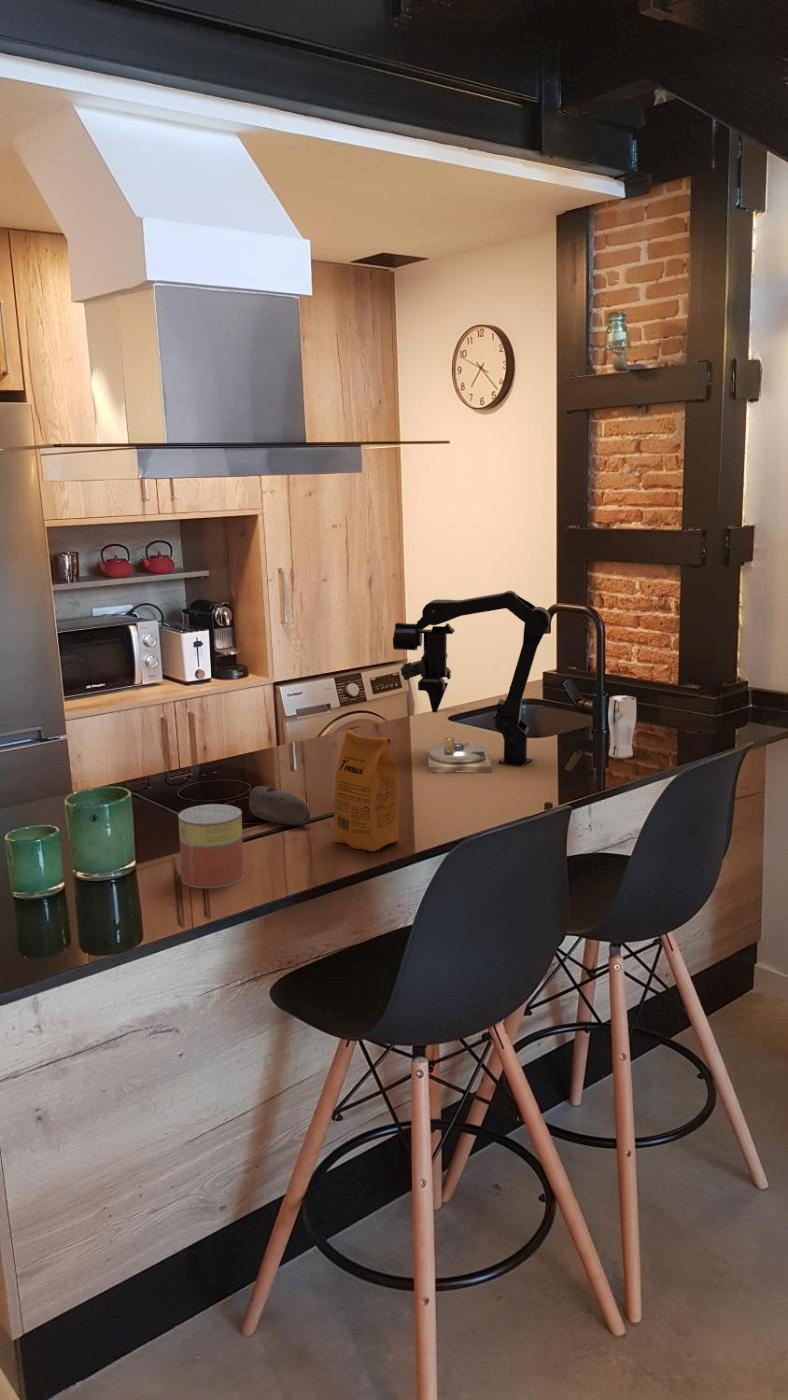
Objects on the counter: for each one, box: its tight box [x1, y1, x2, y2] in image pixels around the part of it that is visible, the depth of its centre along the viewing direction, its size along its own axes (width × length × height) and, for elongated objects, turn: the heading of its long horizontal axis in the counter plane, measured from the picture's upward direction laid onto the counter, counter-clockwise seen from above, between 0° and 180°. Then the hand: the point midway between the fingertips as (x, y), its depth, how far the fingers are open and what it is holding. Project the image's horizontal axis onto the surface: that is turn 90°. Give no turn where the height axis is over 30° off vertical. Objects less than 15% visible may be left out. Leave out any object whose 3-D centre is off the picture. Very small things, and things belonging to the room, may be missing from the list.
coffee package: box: [333, 729, 400, 852], centre depth 211 cm, size 10×12×22 cm
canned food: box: [177, 803, 245, 889], centre depth 194 cm, size 11×11×12 cm
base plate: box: [425, 748, 492, 773], centre depth 270 cm, size 15×18×2 cm
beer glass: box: [607, 695, 637, 759], centre depth 275 cm, size 7×7×15 cm
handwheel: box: [429, 736, 487, 763], centre depth 269 cm, size 14×14×6 cm
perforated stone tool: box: [248, 785, 311, 827], centre depth 225 cm, size 15×5×7 cm, turn 54°
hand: (434, 712), depth 272 cm, fingers closed
